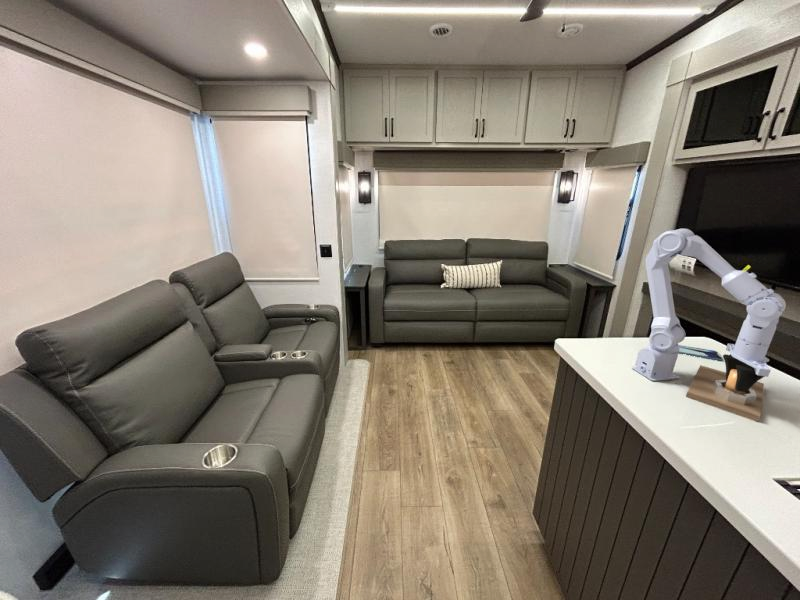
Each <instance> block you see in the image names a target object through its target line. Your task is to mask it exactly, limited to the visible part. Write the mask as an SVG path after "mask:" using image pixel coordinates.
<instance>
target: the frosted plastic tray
mask: <svg viewBox="0 0 800 600" xmlns="http://www.w3.org/2000/svg"><path fill="white" fill-rule="evenodd" d="M726 382H727V381H726V380H717V381H715V383H714V386H713V391H714V394H716V395H718V396H720V397H721V398H723V399H725V400H727V401H730V402H734V403H738V404H742V405H747V404H754V401H755V399H756V396H757V395H756V393H755V391H754V390H753V389H751V388H750V389H749V390H748V391H747V392H746V393H745V394H740V393H736V392H732V391H730V390H728V389H726V388H725V385H726Z"/></svg>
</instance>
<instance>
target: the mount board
mask: <svg viewBox="0 0 800 600" xmlns="http://www.w3.org/2000/svg"><path fill="white" fill-rule="evenodd" d="M717 380H726V371H721V370H718V369H716V368H711V367H708V366H705V365H702V364H701V365H699V367H698V370H697V372H696V374H695V375H694V378H693V380H692V381H691V384H690V385H689V388H688V390H687V392H686V395H685V397H686V398H688V399H691V400H695V401H697V402H700V403H703V404H707V405H708V406H711V407H714V408H718V409H720V410H723V411H725V412H728V413H731V414H734V415H736V416H740V417H742V418H745V419H748V420H750V421H755V422H757V423H758V422H759V420H760V417H761V410H762V404H763V397H764V396H763V395H764V387H765V383H763V382H760V381H757V382H756V383H755V384H754V385H753V386H752V387H751V389H753V390H754V391H755V393H756V395H757V396H756V399H755V401H754V404H747V405H742V404H738V403H734V402H730V401H727V400H725V399H723V398H721V397H720V396H718V395H716V394H714V391H713V386H714V383H715V381H717Z"/></svg>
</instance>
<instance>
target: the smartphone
mask: <svg viewBox="0 0 800 600" xmlns="http://www.w3.org/2000/svg"><path fill="white" fill-rule="evenodd" d="M678 346H679V349H680V350H679V354H680V355H683V354H686V355H685V356H689V355H690V357H694V356H695V358H700V357H701V359H705V360H710V359H711V361H716V360H717V362H722V361H723V360H724V358H723V356H721V354H720V353H719V352H718V351H717V350H712V349H706V348H699V347H694V346H693V347H692V346H687V345H681V344H678ZM679 354H678V355H679Z"/></svg>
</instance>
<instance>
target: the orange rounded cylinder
mask: <svg viewBox="0 0 800 600" xmlns="http://www.w3.org/2000/svg"><path fill="white" fill-rule="evenodd" d="M736 380H737V369H732V370H731V371H730V374H729V376H728V379H727V382H726V385H725V388H726V389H728V390H730V391H732V392H736V393H740V394H745V393H746V392H741V391H737V390H736V389H735V385H736Z"/></svg>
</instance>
